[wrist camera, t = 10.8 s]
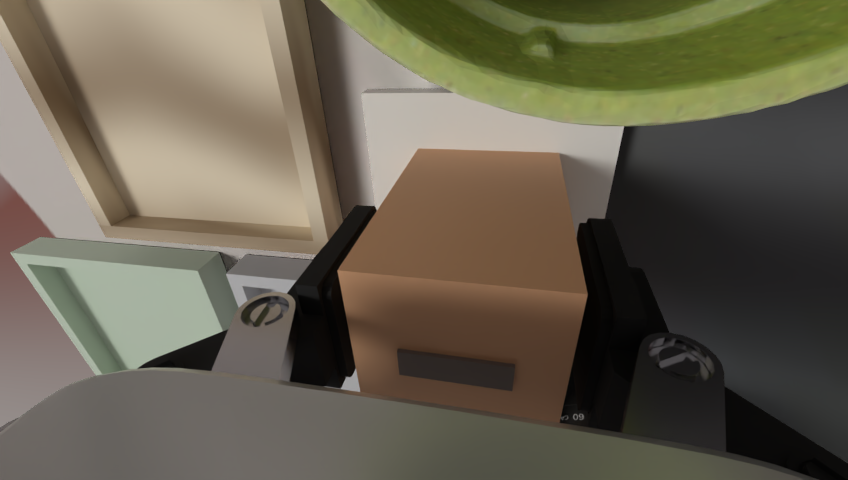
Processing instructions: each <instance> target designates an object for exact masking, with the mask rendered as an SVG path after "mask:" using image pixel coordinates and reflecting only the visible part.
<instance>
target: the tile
mask: <svg viewBox="0 0 848 480" xmlns="http://www.w3.org/2000/svg"><path fill="white" fill-rule="evenodd" d="M361 97H362V105H363V113H364V121H365V129H366V137H367V145H368V153H369V161H370V169H371V177H372V185H373V193H374V201H375V207H376V209H377V210H378V208H379V207H380V205H381V204H382V202H383V201H384V199H385V198H386V196H387V195H388V193H389V192H390V190H391V189H392V187H393V186H394V184H395V183H396V181H397V180H398V178H399V177H400V175H401V174H402V172H403V171H404V169H405V168H406V166H407V165H408V163H409V162H410V160H411V159H412V157H413V156H414V154H415V152H416V151H417V149H418V148H422V149H455V150H487V151H520V152H552V153H559V156H560V161H561V166H562V171H563V176H564V180H565V185H566V190H567V195H568V200H569V205H570V210H571V215H572V220H573V225H574V229H575V234H576V238H577V232H578V227H579V224H580V223H586V222H587V219H588V218H598V219H605V215H606V210H607V205H608V200H609V196H610V191H611V186H612V181H613V177H614V172H615V167H616V162H617V158H618V153H619V148H620V143H621V139H622V134H623V129H624V126H594V125H580V124H571V123H562V122H556V121H552V120H548V119H543V118H538V117H533V116H528V115H523V114H518V113H514V112H510V111H507V110H504V109H501V108H498V107H494V106H491V105H488V104H485V103H481V102H478V101H474V100H470V99H468V98H465V97H463V96H461V95H458V94H456V93H453V92H451V91H449V90H447V89H367V90H365V91H364V92H362V93H361Z"/></svg>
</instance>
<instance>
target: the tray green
mask: <svg viewBox="0 0 848 480" xmlns="http://www.w3.org/2000/svg"><path fill="white" fill-rule="evenodd" d="M11 255H12V256H13V257H14V259H15V260H16V262H17V263H18V265H19V266H20V268H21V269H22V270H23V272H24V273H25V275H26V276H27V278H28V279H29V280H30V282H31V283H32V285H33V286H34V288H35V289H36V290H37V292H38V293H39V295H40V296H41V298H42V299H43V300H44V302H45V303H46V305H47V306H48V307H49V309H50V310H51V312H52V313H53V315H54V316H55V317H56V319H57V320H58V322H59V323H60V325H61V326H62V328H63V329H64V330H65V332H66V333H67V335H68V336H69V338H70V339H71V340H72V342H73V343H74V345H75V346H76V347H77V349H78V350H79V352H80V353H81V355H82V356H83V358H84V359H85V360H86V362H87V363H88V365H89V366H90V368H91V369H92V371H93V372H94V373H95V375H96V376H97V375H101V374H106V373H112V372H117V371H123V370H128V369H137V368H139V367H140V366H141V365H143V364H144V363H146V362H148V361H150V360H152V359H154V358H157V357H159V356H162V355H164V354H167V353H169V352H172V351H174V350H177V349H180V348H182V347H185V346H187V345H190V344H192V343H195V342H197V341H200V340H202V339H205V338H207V337H210V336H212V335H215V334H217V333H220V332H222V331H225V330H227V329H229V327H230V324H231V322H232V319H233V317H234V315H235V313H236V311H237V310H238V308H239V307H238V305H237V302H236V299H235V297H234V294H233V291H232V289H231V286H230V284H229V281H228V278H227V276H226V273H227V272H226V269H225V266H224V264H223V261H222V258H221V256H220V253H219V252H211V251H199V250H188V249H176V248H164V247H152V246H141V245H129V244H117V243H105V242H94V241H82V240H70V239H58V238H46V237H40V238H38V239H36V240H34V241H32V242H30V243H28V244H26V245H24V246H22V247H21V248H18V249H17V250H15V251H13V252H11Z"/></svg>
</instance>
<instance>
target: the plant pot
mask: <svg viewBox="0 0 848 480" xmlns="http://www.w3.org/2000/svg"><path fill="white" fill-rule="evenodd" d="M321 1H322V2H323V3H324V4H325V5H326V6H327V7H328V8H329V9H330V10H331V11H332V12H333V13H334V14H335V15H336V16H337V17H338V18H340V19H341V20H342V21H343V22H344V23H346V24H347V25H348V26H349V27H351V28H352V29H353V30H354V31H355V32H357V33H358V34H359V35H360V36H362V37H363V38H364V39H365V40H367V41H368V42H369V43H370V44H372V45H373V46H374V47H376V48H377V49H378V50H379V51H381V52H382V53H384V54H385V55H387V56H388V57H390V58H391V59H393V60H395V61H396V62H398V63H399V64H401V65H402V66H404V67H406V68H407V69H409V70H410V71H412V72H414V73H415V74H417V75H419V76H420V77H422V78H424V79H426V80H427V81H429V82H432V83H434V84H437V85H439V86H441V87H443V88H445V89H447V90H449V91H451V92H453V93H456V94H458V95H461V96H463V97H465V98H468V99H470V100H474V101H478V102H481V103H485V104H488V105H491V106H494V107H498V108H501V109H504V110H507V111H510V112H514V113H518V114H523V115H528V116H533V117H538V118H543V119H548V120H552V121H556V122H562V123H571V124H580V125H594V126H648V125H663V124H673V123H684V122H692V121H699V120H706V119H713V118H720V117H724V116H729V115H735V114H742V113H749V112H753V111H756V110H759V109H763V108H767V107H772V106H777V105H782V104H787V103H790V102H793V101H796V100H799V99H802V98H805V97H808V96H811V95H815V94H819V93H823V92H826V91H830V90H832V89H835V88H838V87H841V86H844V85H846V84H848V0H321Z"/></svg>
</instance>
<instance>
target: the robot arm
mask: <svg viewBox="0 0 848 480" xmlns="http://www.w3.org/2000/svg"><path fill="white" fill-rule="evenodd" d="M376 211H377V209H376V207H375V206H357V205H356V206H355V207H354V209H353V210H352V211H351V212H350V214H349V215H348V216H347V218H346V219H345V220H344V221H343V223H342V224H341V225H340V227H339V228H338V229H337V231H336V232H335V233H334V234H333V236H332V237H331V238H330V240H329V241H328V242H327V243H326V245H325V246H324V247H323V248H322V249H321V250H320V251H319V253H318V254H317V255H316V257H315V258H314V259H313V260H312V262H311V263H310V264H309V266H308V267H307V268H306V269H305V271H304V272H303V273H302V274H301V276H300V277H299V278H298V280H297V281H296V282H295V283H294V285H293V286H292V287H291V289H290V290H289V291H288V292H287V293H282V292H269V293H264V294H261V295H258V296H255V297H253V298H251V299H250V300H248V301H246V302H245V303H244V304H242V305H241V306H240V307H239V308H238V310H237V311H236V313H235V315H234V317H233V319H232V322H231V324H230V327H229V329H227V330H225V331H222V332H220V333H217V334H215V335H212V336H210V337H207V338H205V339H202V340H200V341H197V342H195V343H192V344H190V345H187V346H185V347H182V348H180V349H177V350H174V351H172V352H169V353H167V354H164V355H162V356H159V357H157V358H154V359H152V360H150V361H148V362H146V363H144V364H143V365H141V366H140V367H139V368H137V369H128V370H123V371H117V372H112V373H106V374H101V375H97V376H94V377H90V378H86V379H83V380H81V381H77V382H74V383H72V384H70V385H68V386H66V387H64V388H62V389H60V390H58V391H56V392H55V393H53V394H51V395H50V396H48V397H47V398H45V399H44V400H43V401H41V402H40V403H38V404H37V405H35V406H34V407H33V408H31V409H30V410H29V411H27V412H26V413H25V414H23V415H22V416H21V417H19V418H17V419H15V420H13V421H11V422H8V423H7V424H5V425H4V426H2V427H1V428H0V480H848V464H847V463H846V462H844V461H843V460H841V459H840V458H838V457H836V456H835V455H833V454H832V453H830V452H828V451H827V450H825V449H824V448H822V447H820V446H819V445H817V444H816V443H814V442H812V441H811V440H809V439H808V438H806V437H804V436H803V435H801V434H800V433H798V432H796V431H795V430H793V429H792V428H790V427H789V426H787V425H785V424H784V423H782V422H781V421H779V420H777V419H776V418H774V417H773V416H771V415H769V414H768V413H766V412H765V411H763V410H761V409H760V408H758V407H757V406H755V405H753V404H752V403H750V402H749V401H747V400H745V399H744V398H742V397H741V396H739V395H737V394H736V393H734V392H733V391H731V390H729V389H728V388H726V387H725V386H724V371H723V367H722V364H721V362H720V361H719V359H718V358H717V357H716V355H715V354H714V353H713V352H711V351H710V350H709V349H708V348H707V347H706V346H704V345H702V344H700V343H699V342H697V341H695V340H693V339H691V338H688V337H686V336H683V335H679V334H674V333H669V331H668V328H667V326H666V323H665V321H664V319H663V316H662V314H661V311H660V309H659V307H658V304H657V302H656V300H655V297H654V295H653V292H652V290H651V288H650V285H649V283H648V280H647V278H646V276H645V273H644V271H643V270H642V269H640V268H631V267H628V264H627V261H626V259H625V256H624V253H623V250H622V248H621V245H620V242H619V240H618V237H617V234H616V232H615V229H614V226H613V223H612V221H611V219H598V218H588V219H587V222H586V223H580V224H579V227H578V232H577V238H576V239H577V244H578V249H579V254H580V259H581V264H582V269H583V274H584V279H585V283H586V288H587V293H588V296H587V300H586V305H585V309H584V314H583V318H582V323H581V327H580V332H579V336H578V341H577V346H576V350H575V355H574V359H573V364H572V368H573V376H574V384H575V392H576V400H577V407H578V410H579V411H584V412H586V416H587V423H588V427H583V426H576V425H570V424H564V423H557V422H551V421H545V420H539V419H532V418H526V417H520V416H513V415H507V414H501V413H494V412H488V411H482V410H475V409H468V408H462V407H455V406H449V405H442V404H436V403H429V402H423V401H416V400H410V399H403V398H397V397H390V396H383V395H377V394H370V393H364V392H357V391H350V390H343V389H341V387H342V385H343V383H344V381H345V379H346V377H351V376H352V375H353V373H354V371H355V369H356V366H355V361H354V356H353V350H352V345H351V340H350V334H349V329H348V324H347V318H346V313H345V308H344V302H343V297H342V292H341V287H340V281H339V276H338V271H337V270H338V269H339V267H340V266H341V264H342V263H343V261H344V260H345V258H346V257H347V255H348V254H349V252H350V251H351V249H352V248H353V246H354V245H355V243H356V242H357V240H358V239H359V237H360V236H361V234H362V233H363V231H364V230H365V228H366V227H367V225H368V223H369V222H370V220H371V219H372V217H373V216H374V214H375V213H376ZM324 386H326V387H324ZM330 387H332V388H330ZM337 388H339V389H337ZM589 427H594V428H589ZM595 428H600V429H595Z"/></svg>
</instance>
